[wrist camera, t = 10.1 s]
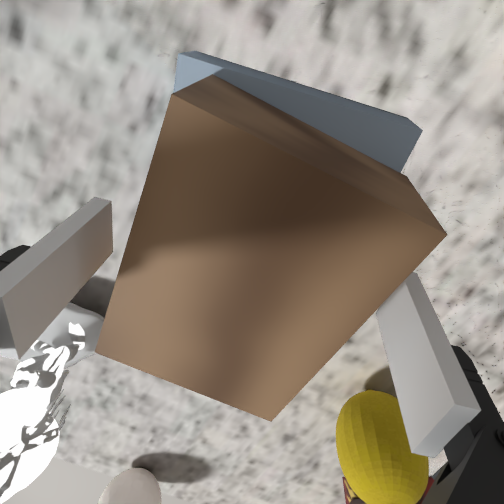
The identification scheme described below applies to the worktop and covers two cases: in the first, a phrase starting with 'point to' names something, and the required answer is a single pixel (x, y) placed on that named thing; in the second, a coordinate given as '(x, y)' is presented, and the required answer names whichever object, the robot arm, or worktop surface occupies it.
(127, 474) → the egg
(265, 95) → the base brick
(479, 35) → the worktop surface
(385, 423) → the lemon
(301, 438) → the worktop surface
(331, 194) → the walnut brick
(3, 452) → the figurine
